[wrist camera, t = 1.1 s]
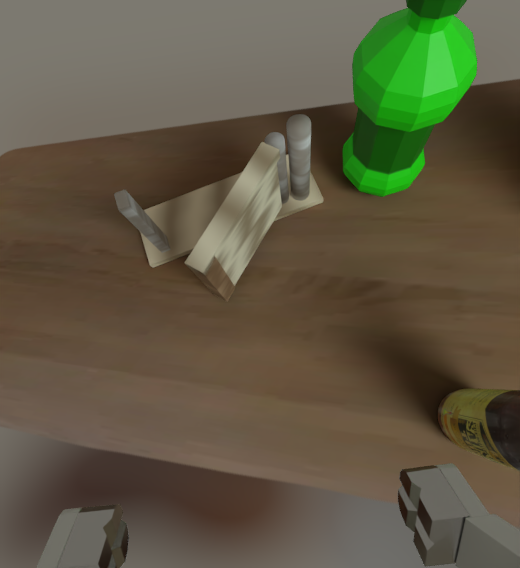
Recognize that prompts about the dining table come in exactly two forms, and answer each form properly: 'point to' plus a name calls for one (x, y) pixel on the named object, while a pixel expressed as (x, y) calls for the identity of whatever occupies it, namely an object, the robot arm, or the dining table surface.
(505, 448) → the sauce bottle
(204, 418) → the dining table surface
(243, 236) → the gate
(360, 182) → the plastic bottle
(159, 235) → the wooden stand
